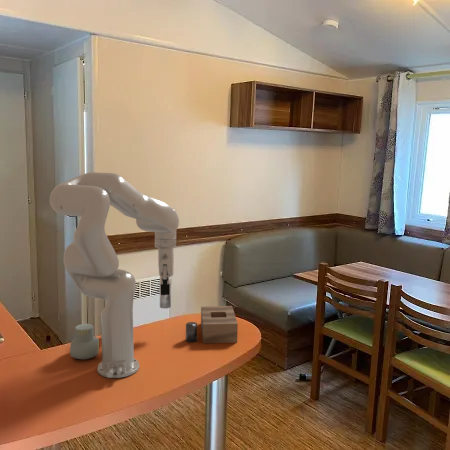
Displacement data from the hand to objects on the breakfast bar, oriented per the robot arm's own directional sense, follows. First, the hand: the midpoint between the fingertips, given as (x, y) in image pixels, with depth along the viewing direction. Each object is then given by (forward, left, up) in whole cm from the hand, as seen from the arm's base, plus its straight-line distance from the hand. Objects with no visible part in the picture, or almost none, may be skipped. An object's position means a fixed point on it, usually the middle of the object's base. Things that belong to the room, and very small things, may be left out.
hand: (165, 292), depth 169 cm
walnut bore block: (+1, -19, -16) cm, 25 cm away
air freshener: (-15, +26, -16) cm, 34 cm away
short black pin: (-5, -9, -16) cm, 19 cm away
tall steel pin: (0, 0, -5) cm, 5 cm away
